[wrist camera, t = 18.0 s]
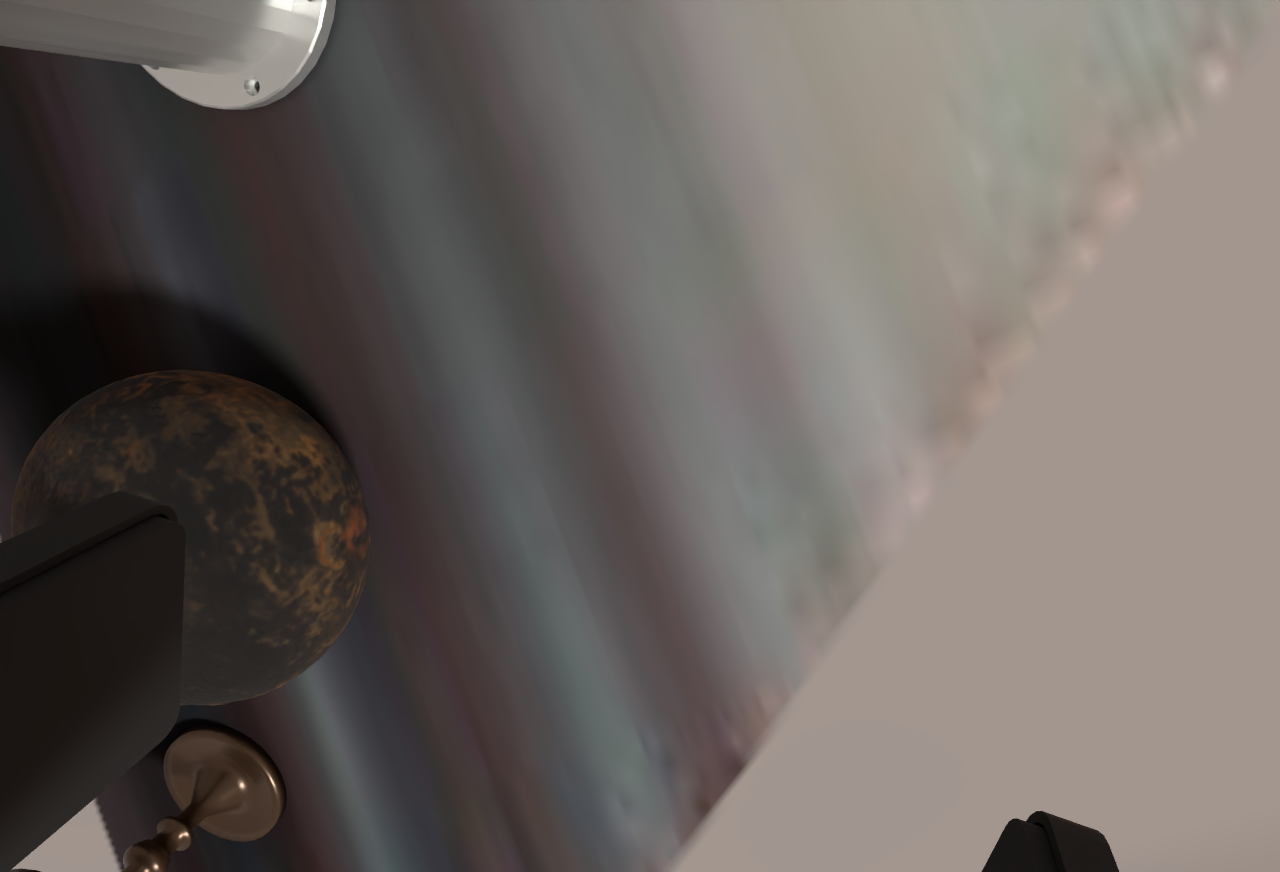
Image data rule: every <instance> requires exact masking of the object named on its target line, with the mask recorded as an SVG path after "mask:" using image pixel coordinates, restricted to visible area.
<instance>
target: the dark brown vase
mask: <svg viewBox="0 0 1280 872" xmlns="http://www.w3.org/2000/svg"><path fill="white" fill-rule="evenodd" d="M117 491H127V492H130V493H133V494H136V495H139V496H142V497H145V498H147V499H150V500H153V501H156V502H159V503H162V504H165V505H167V506H169V507H171V508H172V509H174V511H175V513H176V515H177V518H178V523H179V524H180V525H182V526H183V528H184V530H185V536H186V543H185V573H184V603H183V633H182V663H181V693H180V705H221V704H227V703H230V702H234V701H240V700H246V699H249V698H253V697H256V696H260V695H263V694H265V693H268V692H270V691H271V690H274V689H276V688H279V687H281V686H282V685H284V684H285V683H287V682H289V681H290V680H292V679H293V678H295V677H297V676H298V675H299V674H301V673H302V672H304V671H305V670H306V669H308V668H309V667H310V666H311V665H313V664H314V663H315V662H316V661H317V660H319V659H320V658H321V657H322V656H323V655H324V654H325V653H326V651H327V650H328V649H329V648H330V647H331V645H332V644H333V643H334V642H335V641H336V640H337V639H338V637H339V636H340V635H341V633H342V632H343V630H344V629H345V627H346V625H347V624H348V623H349V621H350V618H351V617H352V615H353V612H354V610H355V609H356V606H357V604H358V602H359V600H360V597H361V594H362V591H363V588H364V584H365V581H366V576H367V572H368V567H369V557H370V543H371V539H370V528H369V517H368V512H367V509H366V505H365V501H364V498H363V493H362V490H361V487H360V485H359V482H358V480H357V478H356V476H355V473H354V471H353V469H352V467H351V465H350V463H349V461H348V460H347V458H346V457H345V455H344V454H343V452H342V451H341V449H340V448H339V446H338V445H337V444H336V442H335V441H334V440H333V438H332V437H331V436H330V435H329V434H328V433H327V432H326V430H325V429H324V428H323V427H322V426H321V425H320V424H319V423H318V422H317V421H315V420H314V419H313V418H312V417H311V416H310V415H309V414H308V413H306V412H305V411H304V410H302V409H301V408H300V407H298V406H297V405H295V404H294V403H292V402H291V401H289V400H288V399H286V398H284V397H283V396H281V395H279V394H277V393H275V392H274V391H272V390H269V389H267V388H265V387H262V386H260V385H258V384H256V383H253V382H250V381H247V380H244V379H241V378H237V377H234V376H230V375H227V374H222V373H217V372H212V371H202V370H169V371H157V370H156V371H154V372H151V373H145V374H140V375H135V376H133V377H128V378H125V379H123V380H120V381H117V382H114V383H111V384H109V385H106V386H104V387H102V388H100V389H98V390H96V391H94V392H93V393H91V394H89V395H87V396H85V397H84V398H82V399H80V400H79V401H77V402H76V403H74V404H73V405H72V406H71V407H70V408H68V409H67V410H66V411H65V412H63V413H62V414H61V415H60V416H58V418H57V419H55V420H54V422H53V423H52V424H51V425H50V426H49V427H48V428H47V429H46V431H45V432H44V433H43V434H42V436H41V437H40V438H39V440H38V441H37V442H36V444H35V446H34V447H33V449H32V450H31V452H30V454H29V456H28V457H27V459H26V461H25V463H24V465H23V468H22V470H21V473H20V476H19V478H18V481H17V485H16V488H15V492H14V497H13V501H12V508H11V537H12V538H13V537H15V536H17V535H20V534H22V533H24V532H26V531H28V530H31V529H33V528H35V527H37V526H39V525H42V524H44V523H46V522H48V521H50V520H53V519H55V518H57V517H59V516H61V515H64V514H66V513H68V512H70V511H72V510H75V509H77V508H79V507H81V506H83V505H86V504H88V503H90V502H92V501H94V500H97V499H99V498H101V497H103V496H105V495H108V494H110V493H113V492H117Z"/></svg>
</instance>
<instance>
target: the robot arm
mask: <svg viewBox="0 0 1280 872" xmlns="http://www.w3.org/2000/svg"><path fill="white" fill-rule="evenodd" d="M335 5H336V0H0V46H8V47H15V48H22V49H30V50H37V51H45V52H52V53H59V54H67V55H74V56H82V57H89V58H96V59H104V60H111V61H119V62H126V63H133V64H141V66H142V67H143V68H144V69H145V70H146V71H147V72H148V73H149V74H150V75H151V76H152V77H154V78H155V79H156V80H157V81H158V82H159V83H160V84H161V85H162V86H164V87H166V88H167V89H169V90H170V91H172V92H173V93H175V94H177V95H178V96H180V97H181V98H183V99H186V100H189V101H191V102H194V103H196V104H199V105H202V106H206V107H212V108H219V109H231V110H247V109H252V108H257V107H262V106H266V105H268V104H270V103H272V102H275V101H277V100H279V99H281V98H283V97H285V96H286V95H287V94H288V93H290V92H291V91H292V90H293V89H295V88H296V87H297V86H298V85H300V84H301V83H302V81H303V80H304V79H305V78H306V76H307V75H308V74H309V73H310V71H311V70H312V69H313V68H314V66H315V65H316V63H317V61H318V59H319V57H320V55H321V53H322V51H323V49H324V47H325V45H326V43H327V40H328V36H329V33H330V30H331V26H332V23H333V20H334V13H335ZM185 543H186V536H185V530H184V528H183V526H182V525H180V524H179V523H178V518H177V515H176V513H175V511H174V509H172V508H171V507H169V506H167V505H165V504H162V503H159V502H156V501H153V500H150V499H147V498H145V497H142V496H139V495H136V494H133V493H130V492H127V491H117V492H113V493H110V494H108V495H105V496H103V497H101V498H99V499H97V500H94V501H92V502H90V503H88V504H86V505H83V506H81V507H79V508H77V509H75V510H72V511H70V512H68V513H66V514H64V515H61V516H59V517H57V518H55V519H53V520H50V521H48V522H46V523H44V524H42V525H39V526H37V527H35V528H33V529H31V530H28V531H26V532H24V533H22V534H20V535H17V536H15V537H13V538H11V539H9V540H6V541H4V542H2V543H0V872H9V871H10V870H11V869H12V868H13V867H15V866H16V865H17V864H18V863H19V862H21V861H22V860H23V859H24V858H25V857H26V856H28V855H29V854H30V853H31V852H32V851H33V850H35V849H36V848H37V847H38V846H39V845H41V844H42V843H43V842H44V841H45V840H46V839H48V838H49V837H50V836H51V835H52V834H53V833H55V832H56V831H57V830H58V829H59V828H60V827H62V826H63V825H64V824H65V823H66V822H68V821H69V820H70V819H71V818H72V817H73V816H75V815H76V814H77V813H78V812H79V811H80V810H82V809H83V808H84V807H85V806H86V805H88V804H89V803H90V802H91V801H92V800H93V799H95V798H96V797H97V796H98V795H99V794H100V793H102V792H103V791H104V790H105V789H106V788H107V787H109V786H110V785H111V784H112V783H113V782H115V781H116V780H117V779H118V778H119V777H120V776H122V775H123V774H124V773H125V772H126V771H127V770H129V769H130V768H131V767H132V766H133V765H134V764H136V763H137V762H138V761H139V760H140V759H142V758H143V757H144V756H145V755H146V754H147V753H149V752H150V751H151V750H152V749H153V748H154V747H156V746H157V745H158V744H159V743H160V742H161V741H162V740H163V739H164V738H165V737H166V736H167V735H168V734H169V732H170V731H171V729H172V728H173V726H174V724H175V722H176V720H177V717H178V715H179V710H180V693H181V663H182V633H183V603H184V573H185ZM982 872H1119V870H1118V867H1117V865H1116V862H1115V859H1114V857H1113V854H1112V852H1111V849H1110V846H1109V844H1108V842H1107V840H1106V839H1105V837H1104V835H1103V834H1101V833H1100V832H1099V831H1097V830H1094V829H1092V828H1089V827H1086V826H1083V825H1080V824H1077V823H1074V822H1072V821H1069V820H1066V819H1063V818H1060V817H1057V816H1054V815H1052V814H1049V813H1046V812H1043V811H1036V812H1035V813H1033V814H1032V815H1030V817H1029V818H1028V819H1027V821H1022V820H1019V819H1012V820H1011V821H1009V822H1008V824H1007V826H1006V827H1005V829H1004V831H1003V832H1002V834H1001V836H1000V838H999V840H998V842H997V844H996V846H995V848H994V849H993V851H992V853H991V855H990V857H989V859H988V861H987V863H986V865H985V867H984V868H983V870H982Z"/></svg>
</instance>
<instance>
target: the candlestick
mask: <svg viewBox="0 0 1280 872" xmlns="http://www.w3.org/2000/svg"><path fill="white" fill-rule="evenodd" d="M163 770H164V776H165V781H166V784H167V786H168V789H169V791H170V793H171V795H172V797H173V799H174V800H175V802H176V803H177V804H178V806H179V807H180V809H181V810H182V811H183V812H182V813H181V814H179V815H178V816H177V817H173V816H168V817H165V818H164V819H163V820H161V821H160V822H159V824H158V826H157V833H158V834H157V835H156V836H155V837H154V838H153V839H152V840H144V841H141V842H138V843H136V844H134V845H132V846H130V847H129V848H128V849H127V851H126V852H125V854H124V857H123V863H124V867H125V869H124V870H123V871H122V872H167V869H168V867H169V864H170V855H171V854H172V853H173V852H174V851H175V850H177V851H183V850H185V849H187V848H188V847H189V846H190V845H191V844H192V842H193V833H192V831H193V830H194V829H195V828H196V827H197V826H198V825H199V826H200V827H202V828H203V829H205V830H206V831H208V832H210V833H212V834H214V835H216V836H219V837H221V838H225V839H229V840H233V841H251V840H255V839H258V838H261V837H262V836H264V835H265V834H267V833H268V832H269V831H270V830H271V829H272V827H273V826H274V825H275V824H276V823H277V822H278V820H279V819H280V818H281V817H282V815H283V812H284V810H285V807H286V800H287V798H286V788H285V785H284V781H283V778H282V776H281V774H280V772H279V770H278V768H277V766H276V765H275V763H274V762H273V760H272V759H271V758H270V756H269V755H268V754H267V753H266V752H265V751H264V750H263V749H262V748H261V747H260V746H259V745H258V744H256V743H255V742H254V741H253V740H251V739H250V738H248V737H247V736H245V735H243V734H242V733H240V732H238V731H235V730H233V729H230V728H228V727H224V726H219V725H208V724H206V725H200V726H195V727H193V728H191V729H188V730H187V731H186V732H185V733H183V734H182V735H181V736H180V737H179V738H177V739H176V740H175V741H174V742H173V743H172V744H171V745H170V747H169V748H168V750H167V752H166V755H165V758H164V767H163ZM9 872H40V871H36V870H27V869H13V870H10V871H9Z"/></svg>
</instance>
